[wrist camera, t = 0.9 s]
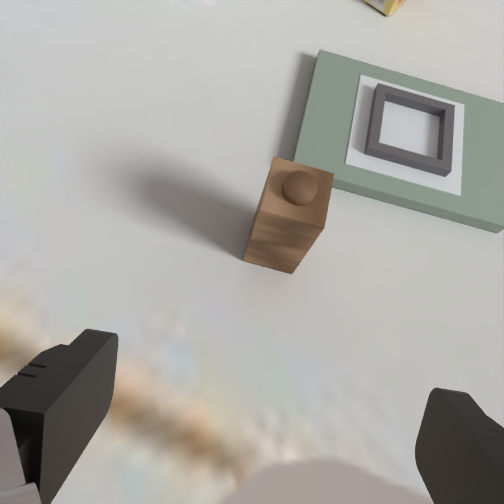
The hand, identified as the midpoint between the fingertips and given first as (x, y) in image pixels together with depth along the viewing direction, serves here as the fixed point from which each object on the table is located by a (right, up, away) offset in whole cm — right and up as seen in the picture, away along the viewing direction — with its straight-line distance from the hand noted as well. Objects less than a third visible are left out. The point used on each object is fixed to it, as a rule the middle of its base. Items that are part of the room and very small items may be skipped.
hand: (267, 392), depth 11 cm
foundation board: (+16, +15, +36) cm, 42 cm away
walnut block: (+2, +4, +29) cm, 29 cm away
